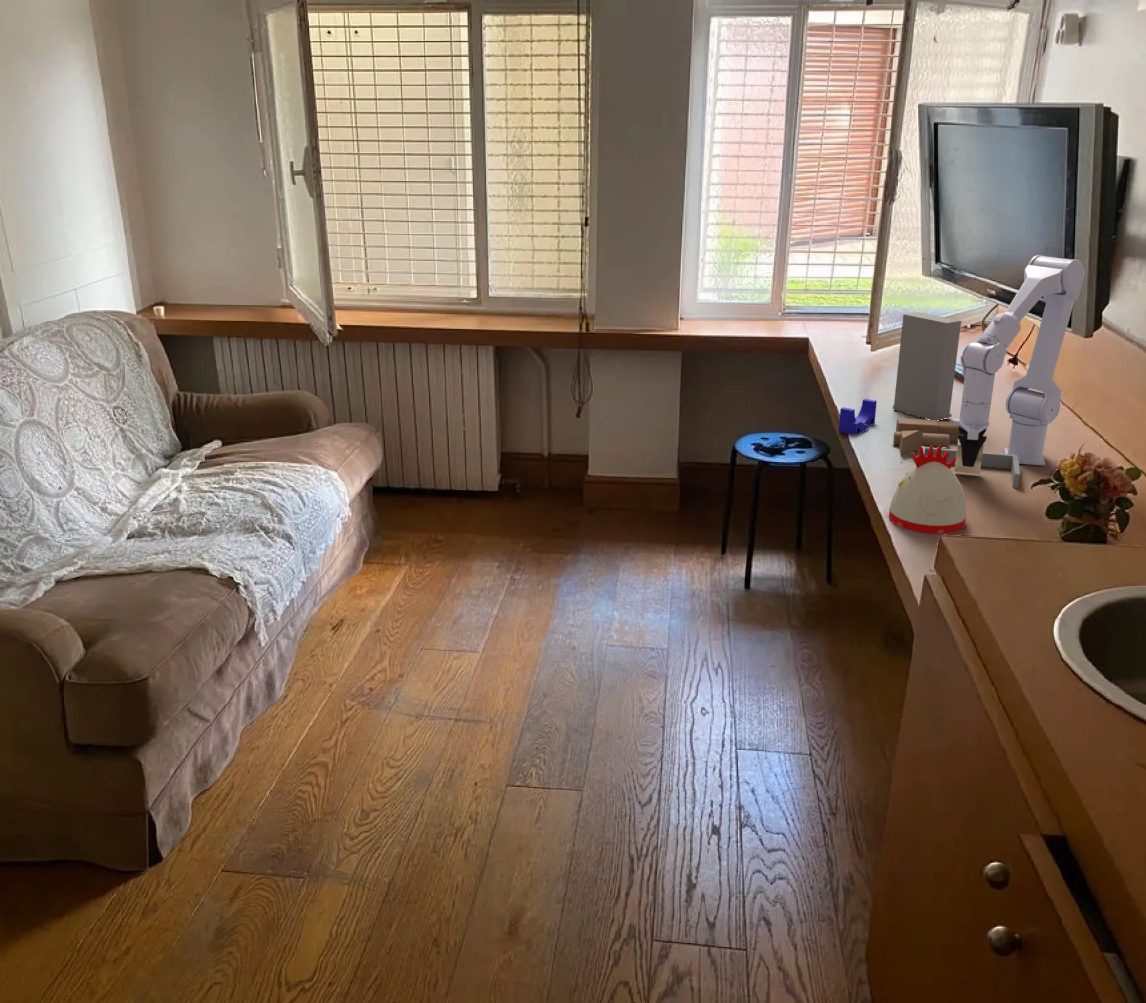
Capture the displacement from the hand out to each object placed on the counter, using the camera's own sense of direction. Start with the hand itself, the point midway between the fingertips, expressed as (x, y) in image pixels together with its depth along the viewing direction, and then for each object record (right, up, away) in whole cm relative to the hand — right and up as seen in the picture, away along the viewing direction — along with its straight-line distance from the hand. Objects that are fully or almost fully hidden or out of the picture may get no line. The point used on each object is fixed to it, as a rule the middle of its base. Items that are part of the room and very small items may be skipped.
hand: (968, 462), depth 217 cm
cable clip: (-13, +9, +35) cm, 38 cm away
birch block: (0, -2, +1) cm, 2 cm away
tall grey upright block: (+5, +14, +44) cm, 47 cm away
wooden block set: (0, +4, +20) cm, 20 cm away
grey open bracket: (+1, -2, +2) cm, 3 cm away
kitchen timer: (-16, -12, -21) cm, 30 cm away
